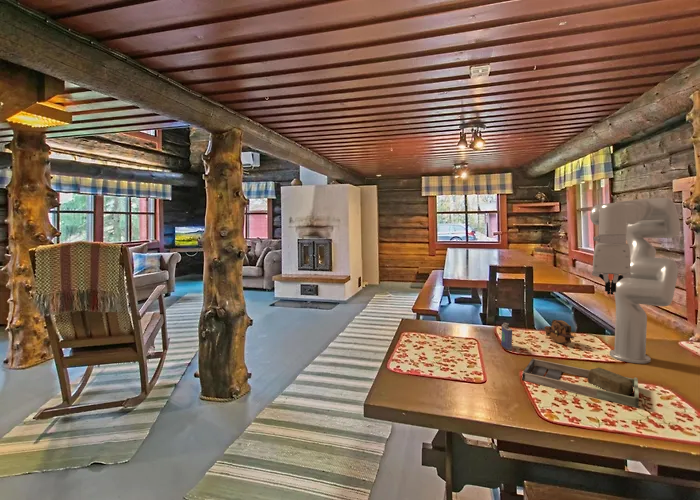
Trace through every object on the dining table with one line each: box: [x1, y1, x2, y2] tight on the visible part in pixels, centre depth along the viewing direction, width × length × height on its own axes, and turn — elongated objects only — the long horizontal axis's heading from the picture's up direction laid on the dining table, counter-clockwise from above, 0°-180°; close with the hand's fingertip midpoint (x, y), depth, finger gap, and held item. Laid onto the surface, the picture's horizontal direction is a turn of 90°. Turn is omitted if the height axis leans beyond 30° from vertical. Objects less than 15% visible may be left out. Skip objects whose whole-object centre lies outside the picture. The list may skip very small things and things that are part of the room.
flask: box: [500, 322, 513, 351], centre depth 151 cm, size 9×3×11 cm, turn 172°
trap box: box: [521, 358, 640, 408], centre depth 115 cm, size 16×31×3 cm, turn 51°
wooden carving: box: [544, 319, 575, 345], centre depth 156 cm, size 16×5×10 cm, turn 10°
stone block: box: [587, 367, 634, 396], centre depth 111 cm, size 6×12×5 cm, turn 17°
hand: (610, 293), depth 118 cm, fingers closed
